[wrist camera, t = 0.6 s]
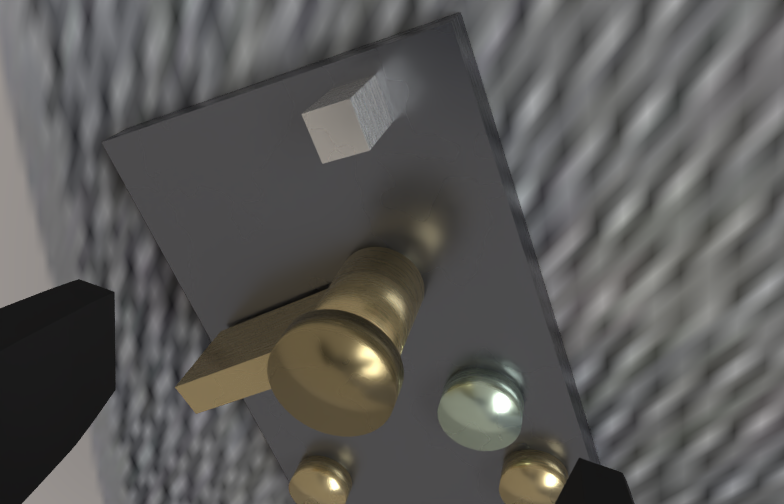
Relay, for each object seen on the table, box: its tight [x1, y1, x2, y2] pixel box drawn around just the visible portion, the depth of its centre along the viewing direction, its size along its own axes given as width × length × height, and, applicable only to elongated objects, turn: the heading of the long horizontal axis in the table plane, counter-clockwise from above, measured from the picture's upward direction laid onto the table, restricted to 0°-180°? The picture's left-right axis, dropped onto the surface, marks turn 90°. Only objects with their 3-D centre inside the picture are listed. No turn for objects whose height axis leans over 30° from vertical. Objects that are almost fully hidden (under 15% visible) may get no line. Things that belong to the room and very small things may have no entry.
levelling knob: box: [175, 247, 424, 437], centre depth 18 cm, size 7×3×4 cm, turn 121°
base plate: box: [102, 12, 600, 504], centre depth 20 cm, size 16×10×3 cm, turn 21°
